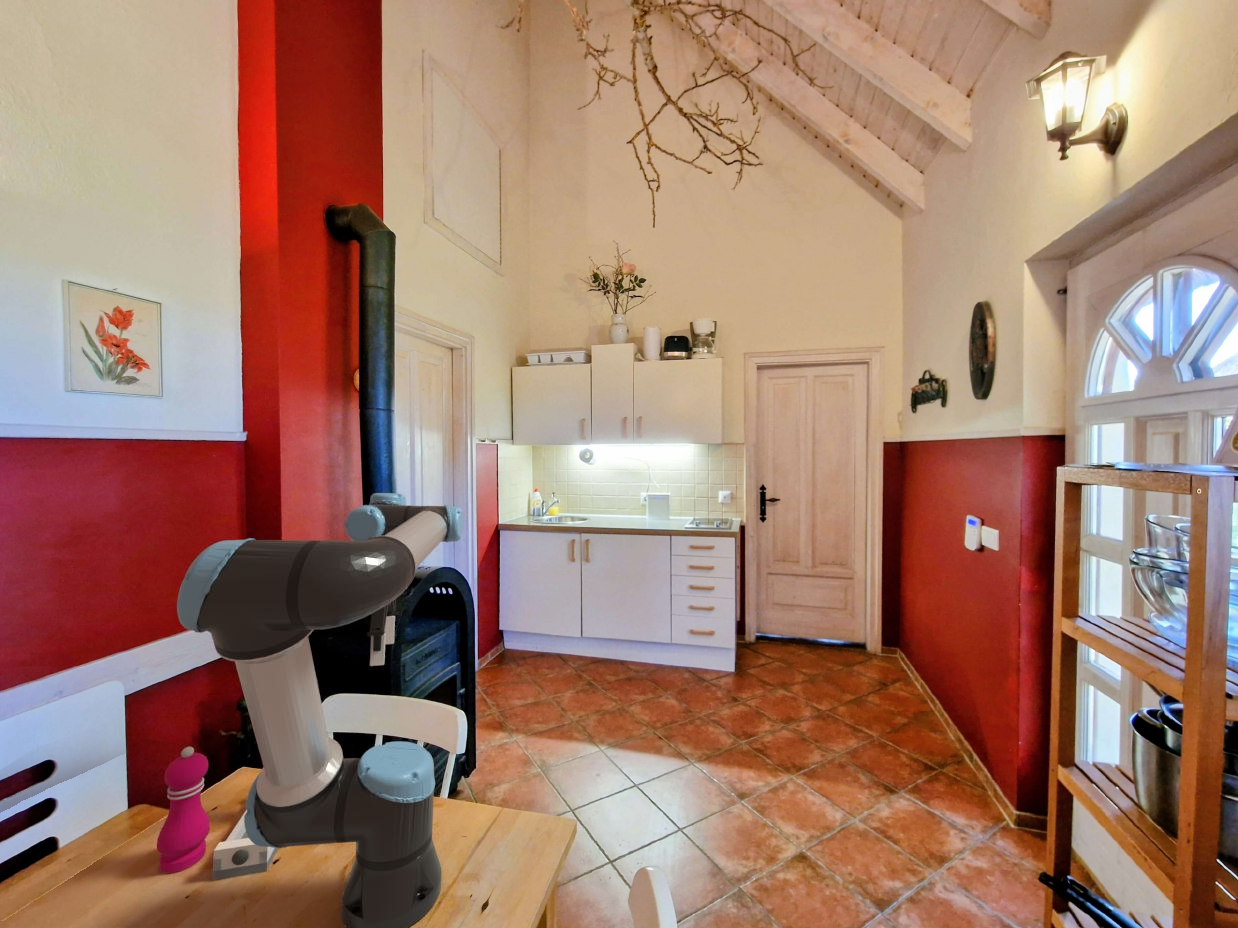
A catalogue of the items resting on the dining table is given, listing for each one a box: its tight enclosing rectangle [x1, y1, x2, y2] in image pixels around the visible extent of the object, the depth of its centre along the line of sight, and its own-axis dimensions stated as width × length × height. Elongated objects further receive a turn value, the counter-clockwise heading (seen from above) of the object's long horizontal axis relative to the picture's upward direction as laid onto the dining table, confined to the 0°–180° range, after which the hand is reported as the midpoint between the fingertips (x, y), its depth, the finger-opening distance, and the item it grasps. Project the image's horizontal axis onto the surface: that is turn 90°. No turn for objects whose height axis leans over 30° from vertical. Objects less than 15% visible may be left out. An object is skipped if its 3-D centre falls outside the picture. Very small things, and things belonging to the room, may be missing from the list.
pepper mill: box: [156, 746, 211, 874], centre depth 90 cm, size 7×7×20 cm
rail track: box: [212, 809, 279, 881], centre depth 97 cm, size 23×8×5 cm, turn 16°
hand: (382, 653), depth 114 cm, fingers open, 13 cm apart
